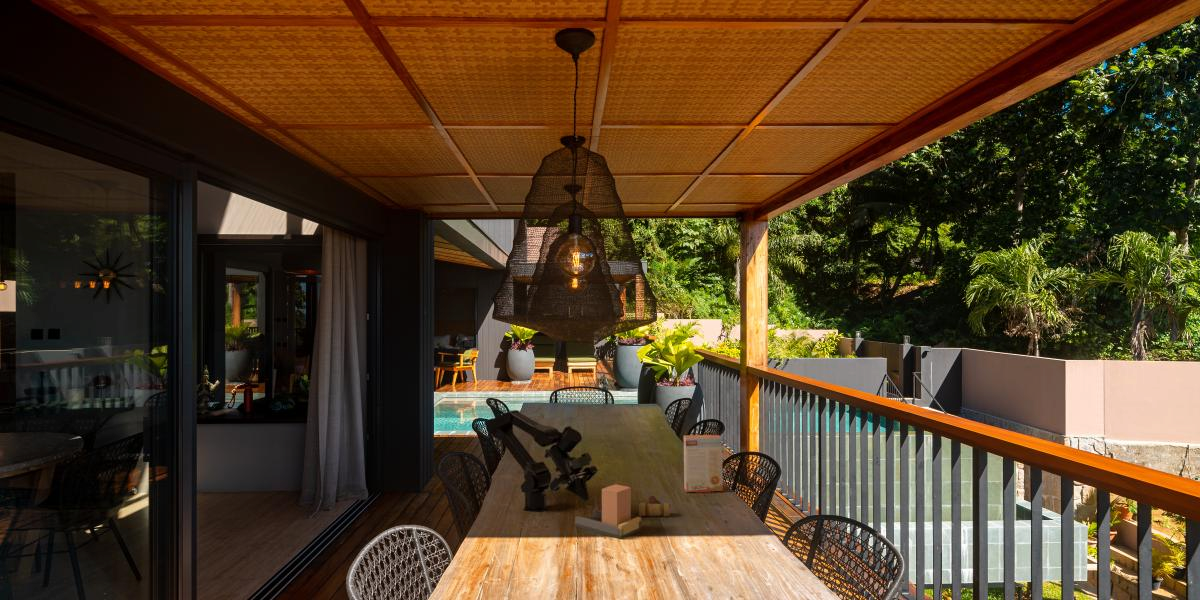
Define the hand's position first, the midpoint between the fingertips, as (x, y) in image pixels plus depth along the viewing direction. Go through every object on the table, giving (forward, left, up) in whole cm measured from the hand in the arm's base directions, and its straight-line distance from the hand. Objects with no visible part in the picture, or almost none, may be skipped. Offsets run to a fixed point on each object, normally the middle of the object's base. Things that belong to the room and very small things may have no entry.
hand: (587, 500), depth 210 cm
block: (+11, -5, -6) cm, 13 cm away
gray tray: (+7, -4, -7) cm, 11 cm away
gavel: (+18, +21, -8) cm, 29 cm away
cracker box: (+33, +47, -8) cm, 57 cm away
